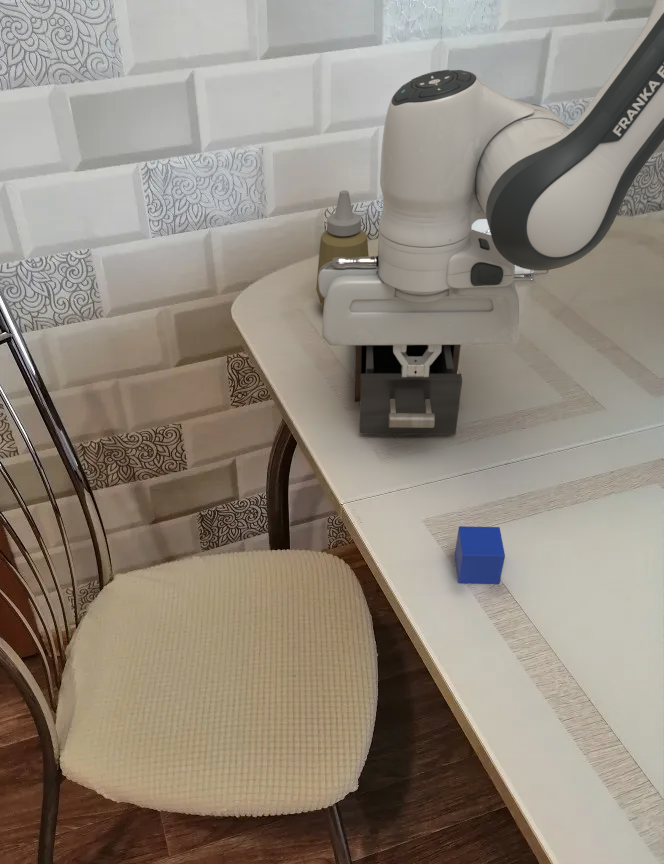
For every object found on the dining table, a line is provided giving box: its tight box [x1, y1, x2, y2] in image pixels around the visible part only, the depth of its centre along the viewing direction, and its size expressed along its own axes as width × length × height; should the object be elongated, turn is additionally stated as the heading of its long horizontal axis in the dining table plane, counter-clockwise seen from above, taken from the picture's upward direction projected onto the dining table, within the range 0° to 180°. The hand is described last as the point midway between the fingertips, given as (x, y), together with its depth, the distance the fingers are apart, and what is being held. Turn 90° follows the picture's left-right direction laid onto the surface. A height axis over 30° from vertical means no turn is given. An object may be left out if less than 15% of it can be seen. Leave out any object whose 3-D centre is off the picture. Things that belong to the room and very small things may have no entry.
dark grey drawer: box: [358, 345, 463, 435], centre depth 96 cm, size 18×11×8 cm, turn 177°
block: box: [454, 525, 506, 585], centre depth 78 cm, size 4×4×4 cm
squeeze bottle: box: [315, 190, 370, 310], centre depth 113 cm, size 8×8×18 cm
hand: (414, 374), depth 88 cm, fingers closed
